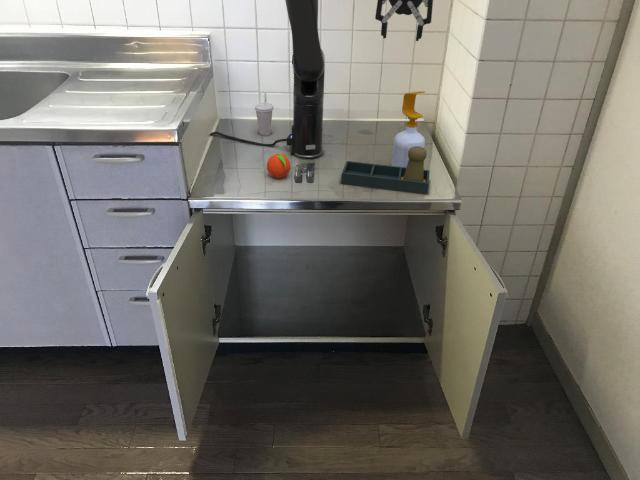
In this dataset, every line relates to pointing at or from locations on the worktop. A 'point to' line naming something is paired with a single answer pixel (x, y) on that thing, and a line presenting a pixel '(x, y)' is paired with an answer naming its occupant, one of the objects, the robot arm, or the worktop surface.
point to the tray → (382, 177)
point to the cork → (415, 164)
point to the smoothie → (264, 117)
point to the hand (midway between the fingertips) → (400, 39)
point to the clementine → (278, 165)
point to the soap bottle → (407, 132)
